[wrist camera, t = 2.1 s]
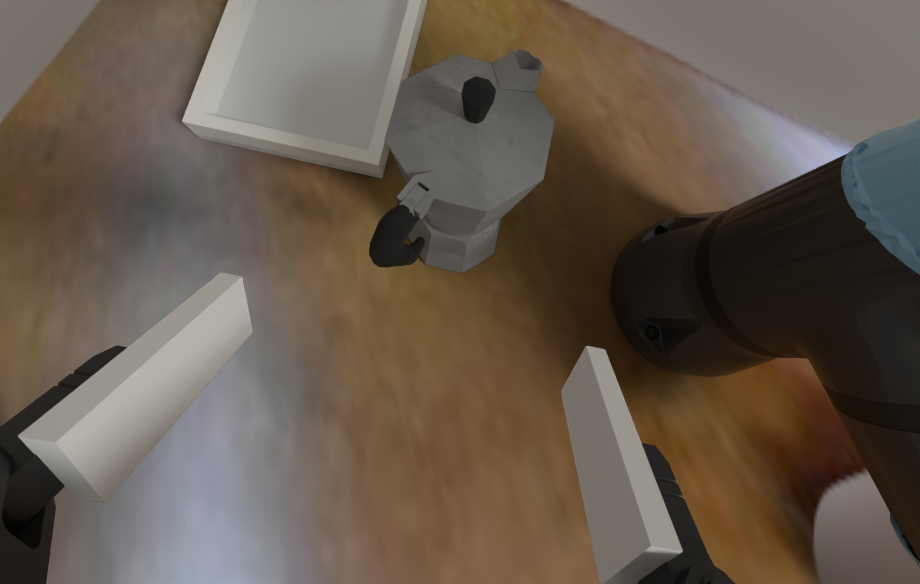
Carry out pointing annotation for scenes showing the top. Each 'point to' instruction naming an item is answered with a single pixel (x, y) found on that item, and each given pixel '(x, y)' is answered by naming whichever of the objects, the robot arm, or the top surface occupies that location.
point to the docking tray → (307, 79)
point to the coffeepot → (462, 158)
